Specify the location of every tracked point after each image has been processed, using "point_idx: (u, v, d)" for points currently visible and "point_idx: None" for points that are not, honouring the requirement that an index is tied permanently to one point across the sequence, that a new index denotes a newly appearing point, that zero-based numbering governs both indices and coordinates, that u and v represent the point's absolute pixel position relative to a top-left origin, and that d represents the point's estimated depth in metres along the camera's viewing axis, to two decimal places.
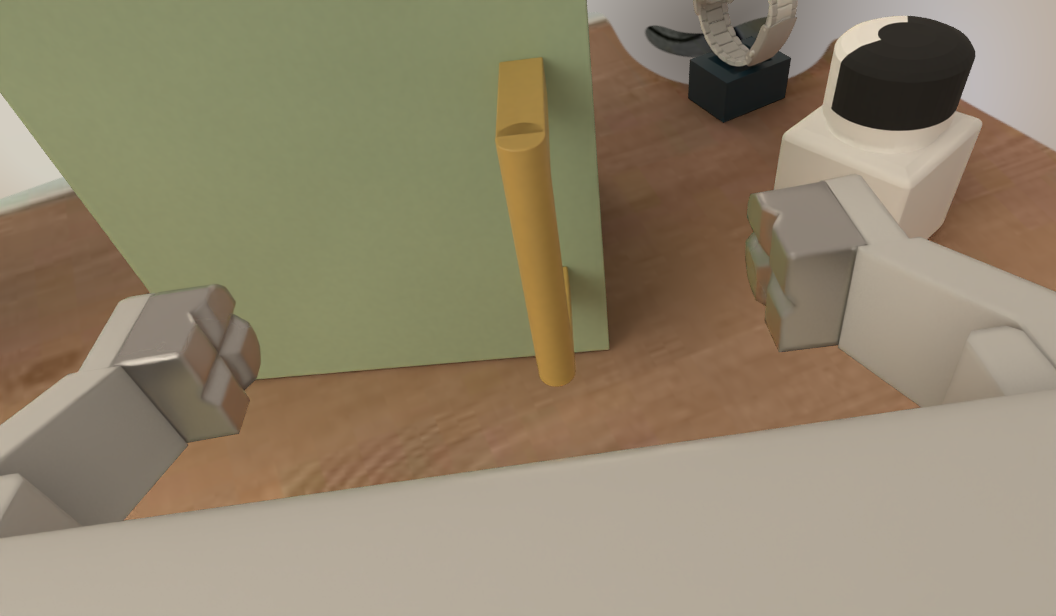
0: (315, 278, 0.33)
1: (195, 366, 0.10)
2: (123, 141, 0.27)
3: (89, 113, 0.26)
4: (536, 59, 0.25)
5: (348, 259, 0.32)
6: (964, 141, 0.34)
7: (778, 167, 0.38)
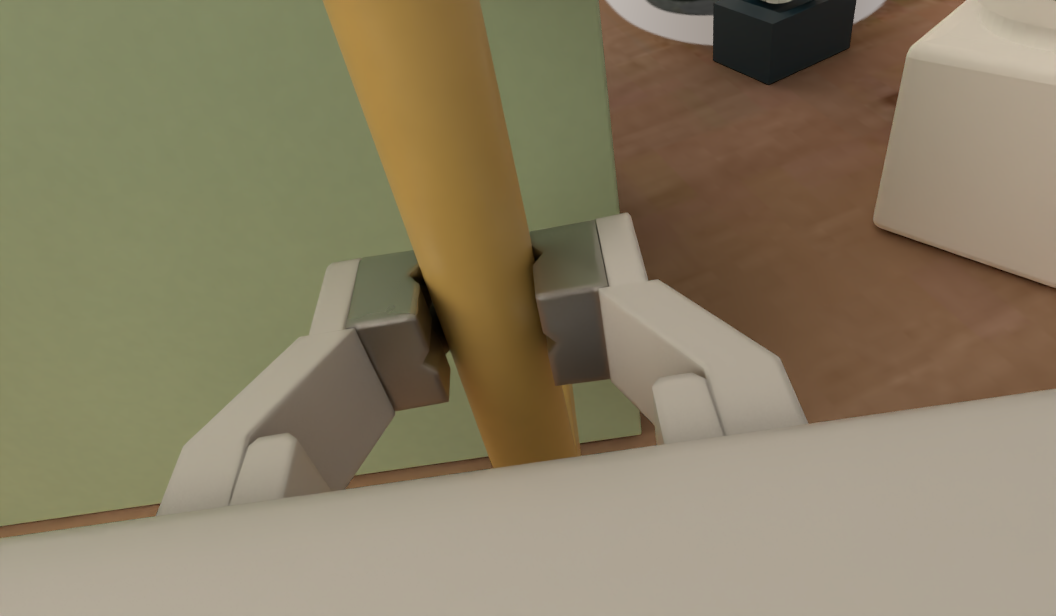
0: (81, 343, 0.17)
1: (423, 328, 0.09)
2: None
3: None
4: None
5: (132, 302, 0.17)
6: None
7: (898, 110, 0.23)
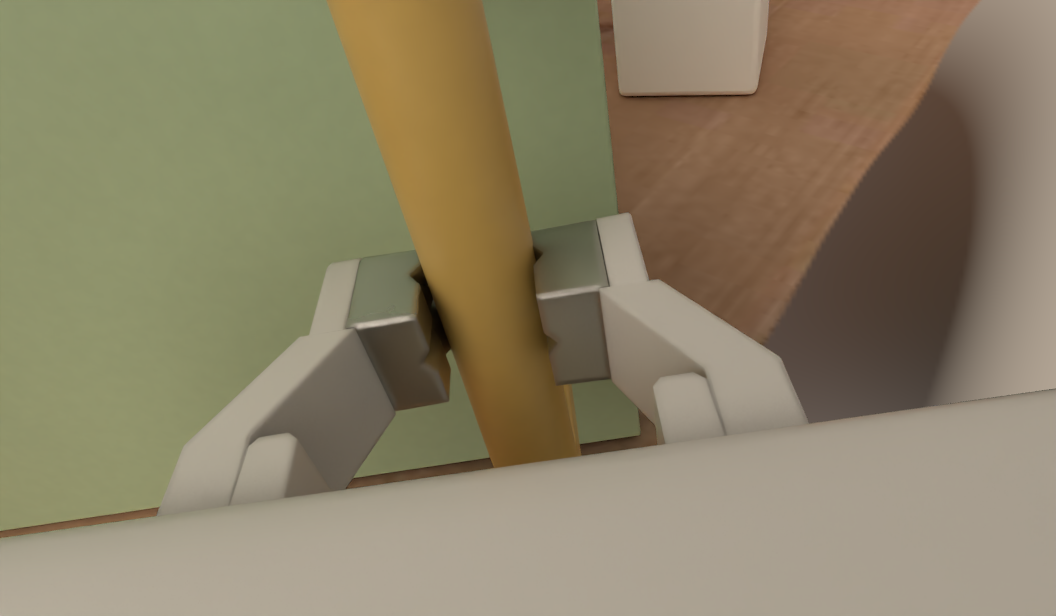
0: (79, 345, 0.17)
1: (424, 329, 0.09)
2: None
3: None
4: None
5: (131, 304, 0.17)
6: None
7: (613, 5, 0.34)
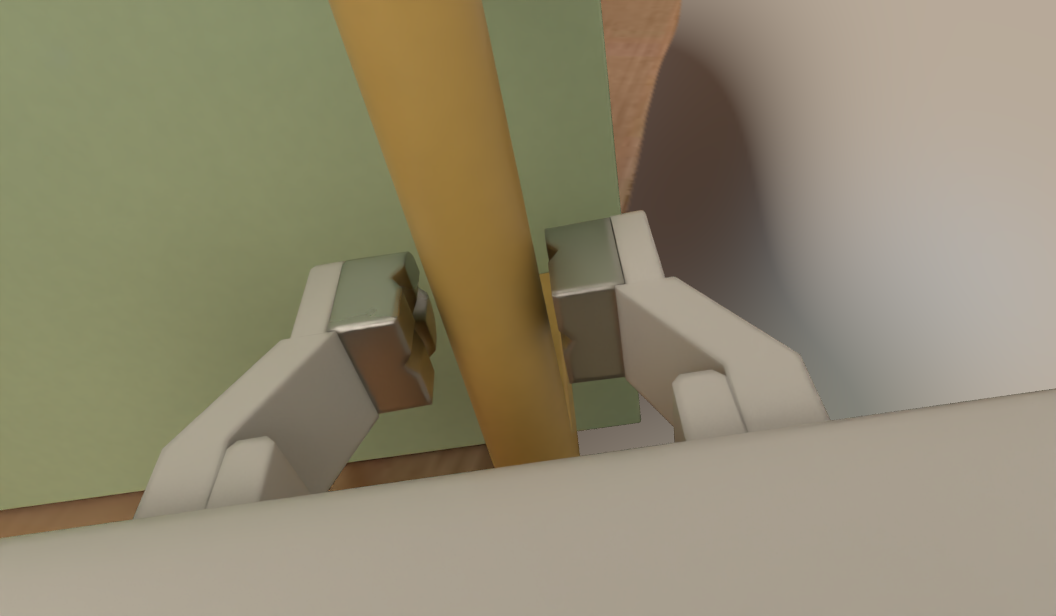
0: (74, 322, 0.17)
1: (405, 332, 0.09)
2: None
3: None
4: None
5: (125, 281, 0.16)
6: None
7: None
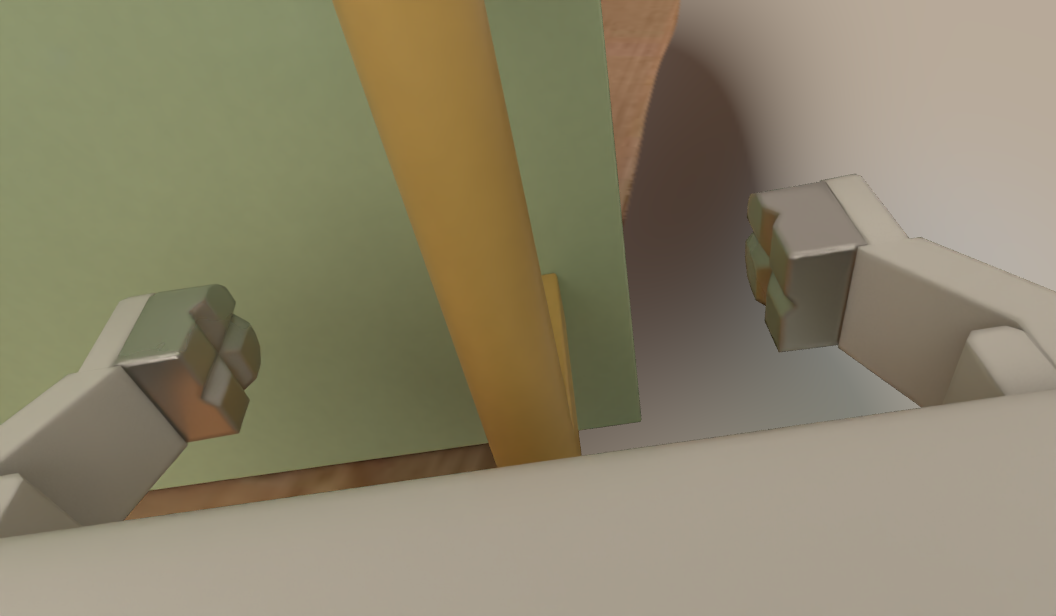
0: (79, 324, 0.17)
1: (195, 366, 0.10)
2: None
3: None
4: None
5: (130, 283, 0.16)
6: None
7: None
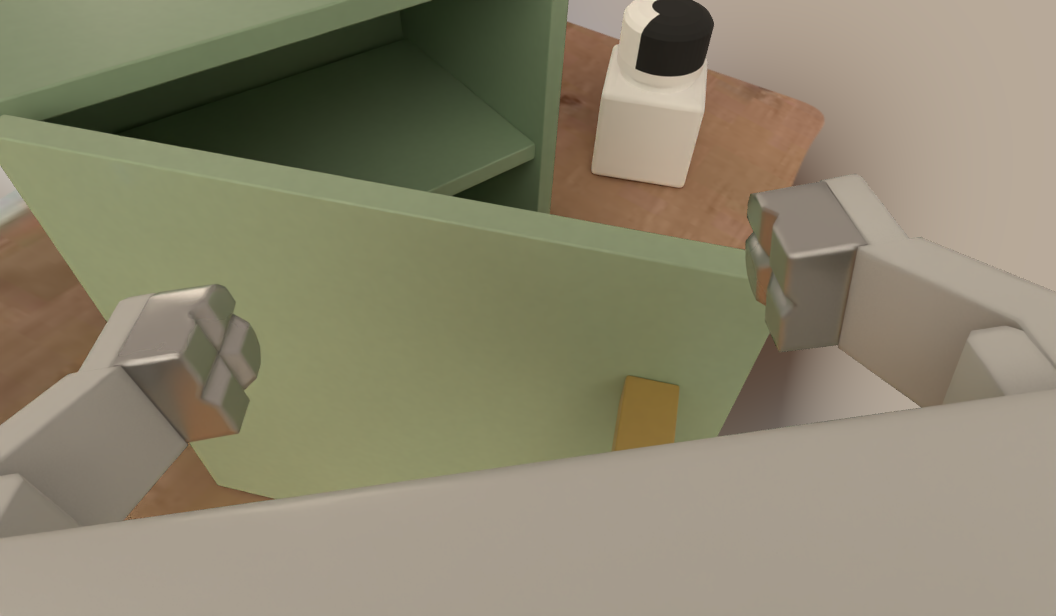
0: (348, 453, 0.29)
1: (195, 365, 0.10)
2: None
3: (140, 274, 0.22)
4: (672, 389, 0.20)
5: (389, 452, 0.28)
6: (706, 73, 0.50)
7: (600, 120, 0.49)
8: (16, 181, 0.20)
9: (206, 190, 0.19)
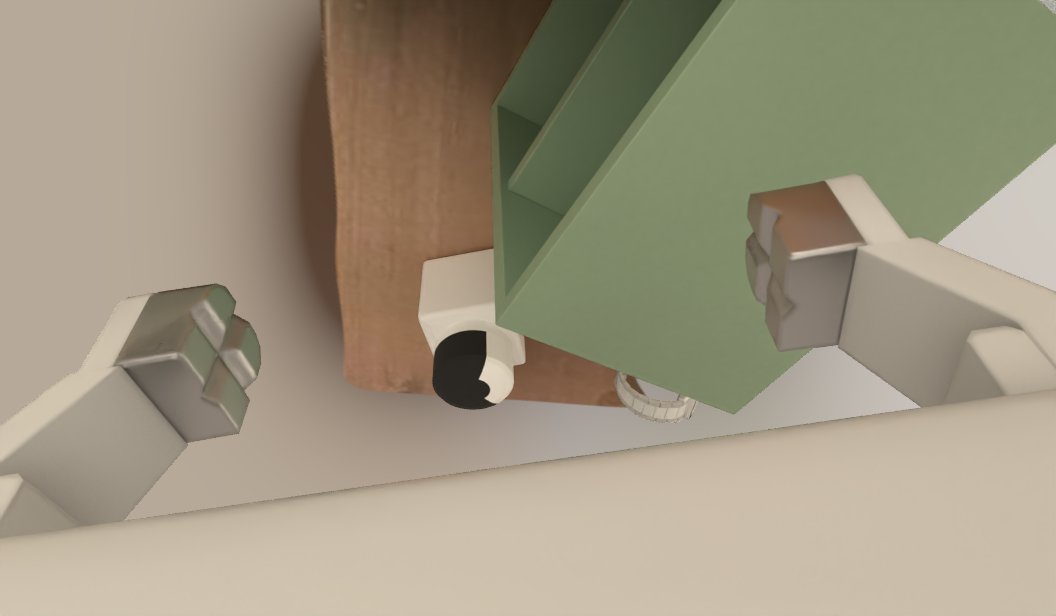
0: None
1: (195, 366, 0.10)
2: None
3: None
4: None
5: None
6: None
7: None
8: None
9: None
